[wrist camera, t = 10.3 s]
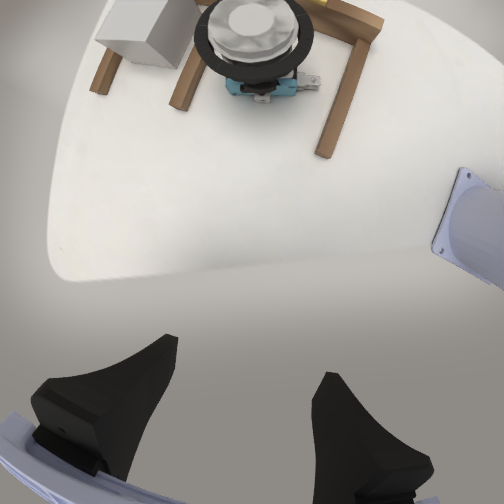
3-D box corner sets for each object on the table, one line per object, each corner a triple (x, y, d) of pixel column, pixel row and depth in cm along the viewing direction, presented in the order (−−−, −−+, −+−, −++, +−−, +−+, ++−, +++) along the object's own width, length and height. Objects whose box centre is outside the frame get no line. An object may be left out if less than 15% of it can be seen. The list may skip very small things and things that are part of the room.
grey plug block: (203, 16, 17) (182, -21, 11) (176, 69, 18) (145, 41, 12) (157, 12, 16) (128, -20, 11) (132, 62, 18) (93, 39, 12)
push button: (316, 57, 17) (342, -15, 7) (317, 121, 18) (351, 79, 9) (228, 55, 17) (194, -17, 8) (225, 117, 19) (182, 75, 9)
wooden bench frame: (368, 40, 16) (387, 15, 12) (327, 159, 19) (341, 155, 15) (148, -8, 16) (128, -31, 11) (98, 93, 19) (66, 83, 14)
